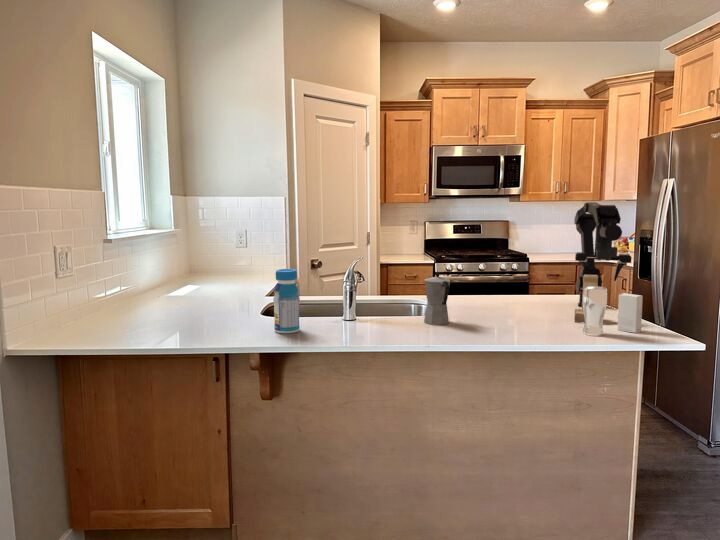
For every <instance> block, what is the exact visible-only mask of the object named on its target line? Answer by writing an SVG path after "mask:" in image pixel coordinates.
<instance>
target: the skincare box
mask: <svg viewBox="0 0 720 540" xmlns="http://www.w3.org/2000/svg"><path fill="white" fill-rule="evenodd" d="M643 298H644V297H643V295H640V294H633V293H624V292H623V293H620V294H618V307H617V310H618V313H617V330H618V331H623V332H629V333H633V334H638V333H640V332H641V331H642V319H643V317H642V316H643Z"/></svg>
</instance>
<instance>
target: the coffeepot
mask: <svg viewBox="0 0 720 540" xmlns="http://www.w3.org/2000/svg"><path fill="white" fill-rule="evenodd" d="M440 274H441V272H440V271H435V276H432V277H429V278H424V286H425V293H426V301H427V303H426V308H425V314H424V320H423V323H424V324H426V325H430V326H431V325H432V326H446V325H448V324H450V320H449V313H448V312H449V311H448V304H447V301H448V297H449V293H450V285H451V280H450V279H449V278H445V277H441V276H440Z"/></svg>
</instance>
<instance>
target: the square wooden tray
mask: <svg viewBox="0 0 720 540" xmlns="http://www.w3.org/2000/svg"><path fill="white" fill-rule="evenodd" d="M574 320H575V321H574V323H580V322H585V319H584V313H582V308H574Z"/></svg>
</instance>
